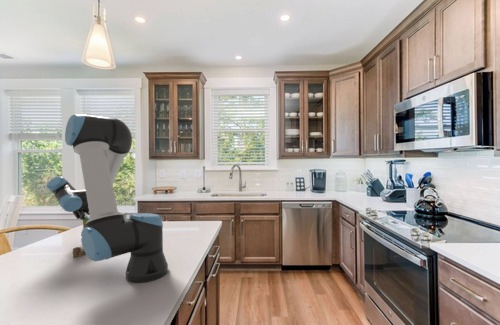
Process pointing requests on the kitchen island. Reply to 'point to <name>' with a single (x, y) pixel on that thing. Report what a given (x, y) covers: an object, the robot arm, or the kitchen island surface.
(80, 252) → the rail
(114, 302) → the kitchen island surface
